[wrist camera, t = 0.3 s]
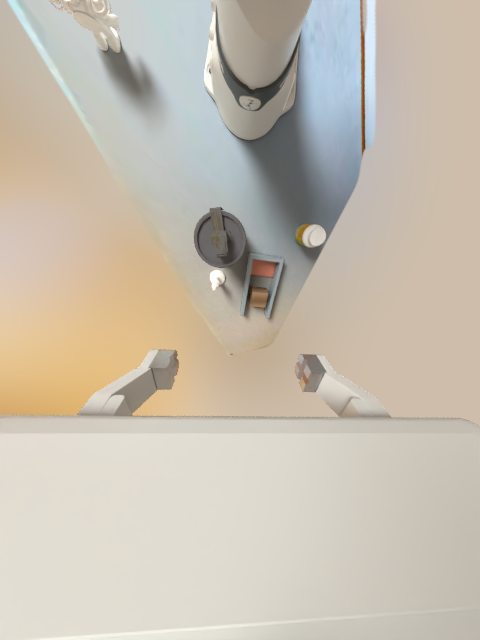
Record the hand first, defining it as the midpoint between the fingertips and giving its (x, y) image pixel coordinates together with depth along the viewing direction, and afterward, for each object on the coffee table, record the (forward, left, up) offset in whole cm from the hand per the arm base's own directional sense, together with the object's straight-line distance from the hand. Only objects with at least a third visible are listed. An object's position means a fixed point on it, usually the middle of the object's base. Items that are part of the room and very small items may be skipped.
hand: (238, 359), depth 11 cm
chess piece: (+9, -5, -46) cm, 47 cm away
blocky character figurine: (-33, -28, -46) cm, 63 cm away
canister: (-4, -4, -46) cm, 47 cm away
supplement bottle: (-7, +19, -46) cm, 51 cm away
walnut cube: (+13, +9, -46) cm, 49 cm away
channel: (+10, +9, -46) cm, 48 cm away
